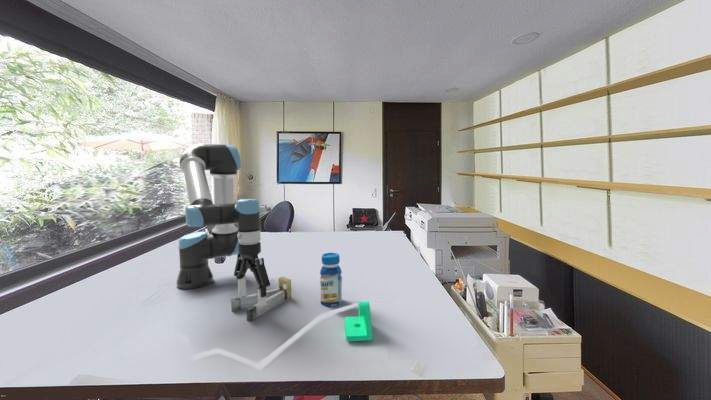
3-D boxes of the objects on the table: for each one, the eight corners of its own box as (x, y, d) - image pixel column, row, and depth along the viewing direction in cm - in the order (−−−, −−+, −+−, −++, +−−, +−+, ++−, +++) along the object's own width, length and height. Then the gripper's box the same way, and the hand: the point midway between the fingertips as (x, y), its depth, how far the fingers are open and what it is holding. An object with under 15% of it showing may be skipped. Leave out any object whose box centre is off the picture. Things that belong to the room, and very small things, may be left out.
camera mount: (344, 324, 100) (344, 295, 99) (366, 323, 100) (366, 294, 99) (346, 344, 88) (346, 311, 87) (371, 343, 88) (371, 310, 88)
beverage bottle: (346, 304, 114) (346, 254, 112) (330, 312, 108) (329, 259, 106) (332, 298, 120) (331, 250, 118) (315, 305, 114) (314, 255, 112)
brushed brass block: (279, 297, 119) (278, 277, 118) (283, 295, 120) (282, 276, 120) (287, 300, 115) (286, 281, 114) (291, 299, 117) (291, 279, 116)
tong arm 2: (281, 300, 116) (281, 290, 115) (284, 300, 115) (284, 290, 115) (247, 320, 100) (246, 309, 99) (250, 321, 99) (249, 310, 99)
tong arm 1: (278, 297, 118) (278, 288, 117) (279, 299, 117) (279, 289, 116) (231, 310, 107) (231, 299, 107) (232, 311, 106) (232, 301, 106)
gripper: (222, 239, 110) (225, 294, 111) (259, 249, 94) (262, 314, 95) (241, 236, 115) (243, 288, 117) (279, 245, 99) (281, 306, 101)
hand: (252, 300), depth 106 cm, fingers open, 13 cm apart
